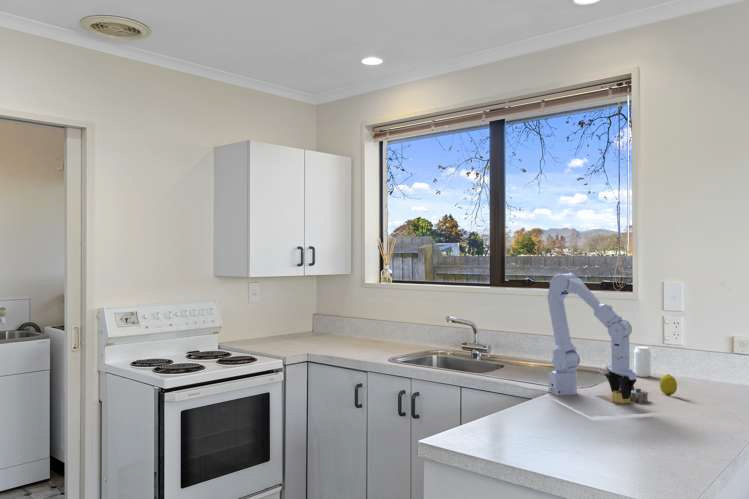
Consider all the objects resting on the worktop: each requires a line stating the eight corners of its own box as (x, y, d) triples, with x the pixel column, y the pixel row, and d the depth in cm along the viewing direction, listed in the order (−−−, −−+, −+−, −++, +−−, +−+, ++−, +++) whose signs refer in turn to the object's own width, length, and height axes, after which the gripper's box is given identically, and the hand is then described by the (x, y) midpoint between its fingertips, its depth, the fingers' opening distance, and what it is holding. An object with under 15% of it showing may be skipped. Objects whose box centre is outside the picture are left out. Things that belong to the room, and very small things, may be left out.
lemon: (673, 394, 216) (673, 372, 216) (679, 398, 210) (679, 375, 210) (657, 394, 216) (657, 372, 216) (663, 398, 211) (663, 375, 211)
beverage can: (633, 374, 251) (633, 345, 251) (649, 375, 249) (649, 346, 249) (635, 377, 245) (634, 348, 245) (651, 378, 243) (651, 348, 243)
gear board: (616, 408, 198) (616, 393, 198) (595, 398, 211) (595, 384, 211) (653, 405, 201) (653, 390, 201) (629, 396, 214) (629, 382, 214)
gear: (618, 403, 200) (618, 394, 199) (609, 399, 205) (609, 390, 205) (633, 402, 201) (633, 393, 201) (623, 398, 206) (623, 390, 206)
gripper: (644, 359, 196) (644, 401, 196) (618, 352, 210) (618, 390, 210) (625, 360, 195) (625, 402, 195) (600, 353, 209) (600, 392, 209)
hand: (620, 396), depth 203 cm, fingers closed on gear, 5 cm apart
